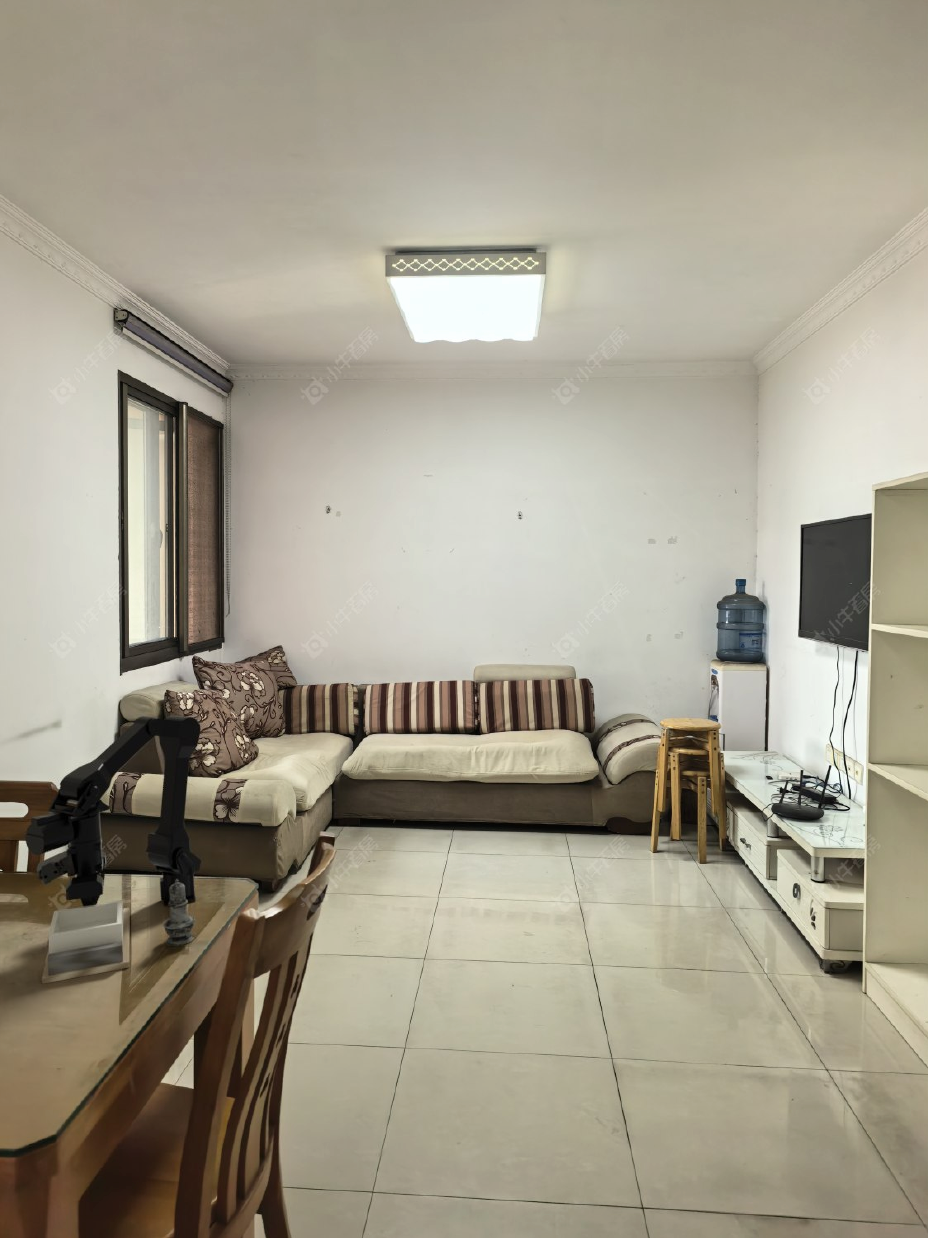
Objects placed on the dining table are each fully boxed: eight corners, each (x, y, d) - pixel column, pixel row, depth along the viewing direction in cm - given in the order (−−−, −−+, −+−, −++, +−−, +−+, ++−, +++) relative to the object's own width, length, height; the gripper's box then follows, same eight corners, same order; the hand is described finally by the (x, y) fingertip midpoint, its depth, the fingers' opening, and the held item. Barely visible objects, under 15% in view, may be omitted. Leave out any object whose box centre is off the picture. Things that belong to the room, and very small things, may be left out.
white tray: (123, 927, 164) (122, 900, 164) (123, 952, 153) (121, 923, 153) (55, 939, 160) (54, 911, 160) (50, 965, 149) (48, 936, 148)
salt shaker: (202, 935, 162) (199, 874, 162) (182, 948, 157) (179, 885, 156) (177, 932, 164) (173, 872, 164) (156, 945, 159) (153, 882, 158)
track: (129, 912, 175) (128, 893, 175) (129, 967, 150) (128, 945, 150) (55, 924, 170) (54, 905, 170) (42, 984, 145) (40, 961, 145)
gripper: (43, 829, 168) (48, 904, 169) (32, 861, 150) (38, 945, 152) (104, 821, 172) (108, 895, 173) (100, 851, 154) (105, 933, 156)
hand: (89, 916), depth 163 cm, fingers closed
